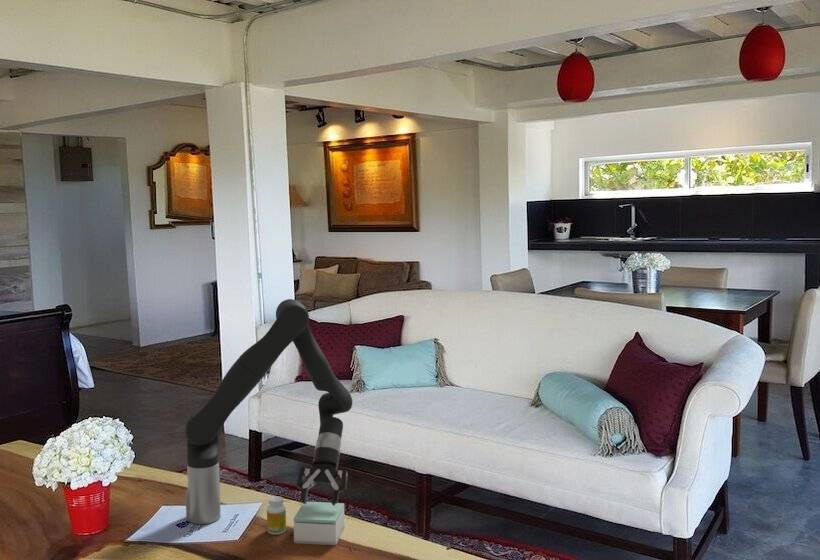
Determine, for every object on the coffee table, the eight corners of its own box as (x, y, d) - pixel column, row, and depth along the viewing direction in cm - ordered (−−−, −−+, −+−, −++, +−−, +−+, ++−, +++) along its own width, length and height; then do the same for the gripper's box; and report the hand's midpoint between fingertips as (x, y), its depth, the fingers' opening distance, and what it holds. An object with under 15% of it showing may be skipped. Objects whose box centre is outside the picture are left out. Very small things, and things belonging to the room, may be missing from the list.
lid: (293, 521, 211) (293, 518, 211) (304, 504, 223) (304, 501, 223) (335, 523, 210) (335, 520, 210) (344, 505, 221) (344, 503, 221)
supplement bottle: (282, 535, 216) (281, 503, 215) (264, 534, 217) (263, 501, 216) (288, 527, 221) (288, 495, 220) (271, 526, 223) (270, 494, 221)
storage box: (294, 543, 212) (293, 522, 211) (304, 524, 224) (304, 505, 223) (336, 545, 210) (335, 524, 210) (344, 526, 222) (344, 506, 222)
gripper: (301, 444, 223) (291, 497, 213) (349, 446, 222) (341, 499, 212) (306, 455, 229) (296, 507, 219) (352, 457, 228) (345, 510, 218)
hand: (318, 503), depth 216 cm, fingers open, 8 cm apart
